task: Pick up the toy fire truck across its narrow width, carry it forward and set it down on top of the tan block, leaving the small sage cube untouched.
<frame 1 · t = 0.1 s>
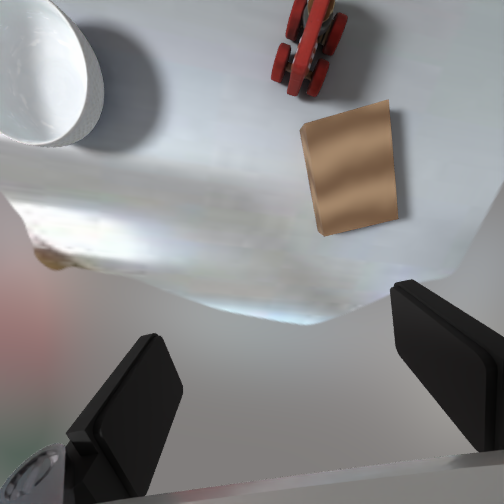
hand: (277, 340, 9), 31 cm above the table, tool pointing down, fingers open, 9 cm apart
tan block: (343, 174, 37), on the table
cereal bowl: (66, 91, 35), on the table
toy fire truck: (304, 56, 33), on the table
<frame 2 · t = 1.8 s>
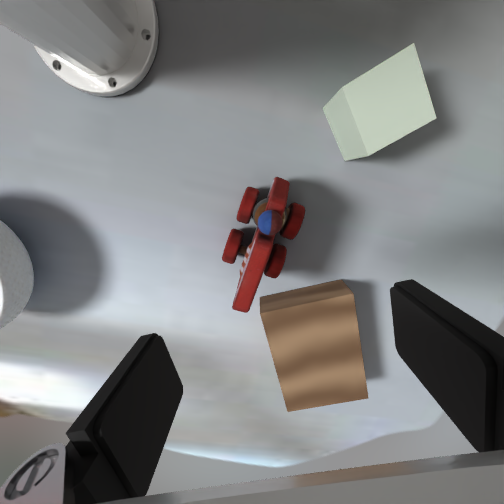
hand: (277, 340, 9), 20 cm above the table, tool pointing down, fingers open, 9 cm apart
tan block: (310, 337, 33), on the table
sage cube: (359, 120, 25), on the table
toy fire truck: (262, 228, 29), on the table
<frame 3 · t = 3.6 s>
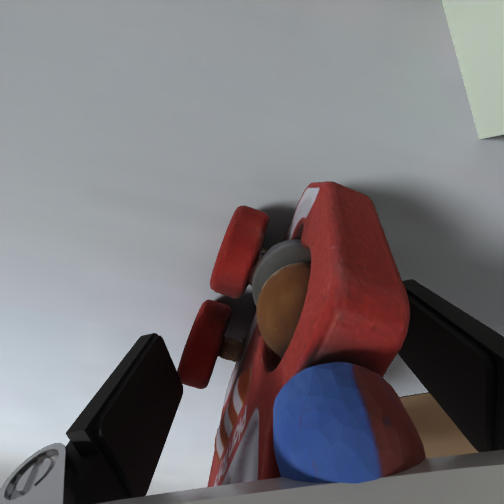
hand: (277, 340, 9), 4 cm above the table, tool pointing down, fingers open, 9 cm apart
tan block: (362, 486, 17), on the table
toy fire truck: (272, 292, 13), on the table
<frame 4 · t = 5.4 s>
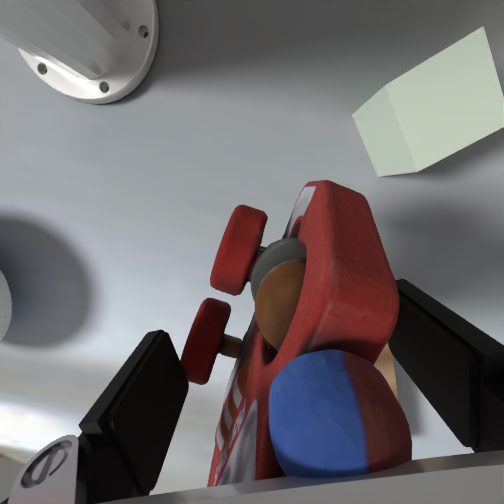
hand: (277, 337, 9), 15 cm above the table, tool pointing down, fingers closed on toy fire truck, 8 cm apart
tan block: (332, 384, 28), on the table
sage cube: (397, 128, 21), on the table
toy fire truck: (271, 290, 14), point 11 cm above the table, touching gripper
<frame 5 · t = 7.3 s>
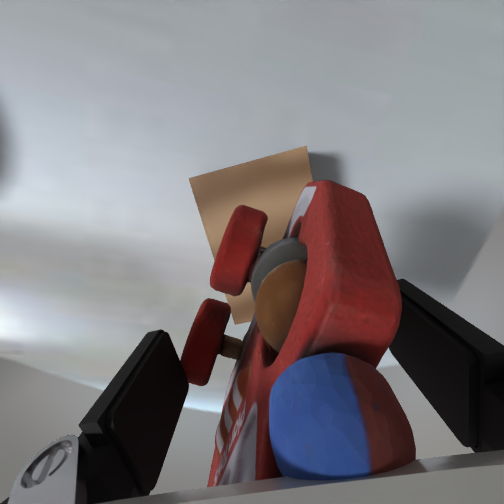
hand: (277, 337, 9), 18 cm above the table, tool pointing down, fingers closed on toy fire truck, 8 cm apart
tan block: (265, 236, 27), on the table
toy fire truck: (271, 291, 13), point 14 cm above the table, touching gripper
when the fingers open (8 cm above the table, at t = 10.0 s): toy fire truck stays where it is, resting on tan block.
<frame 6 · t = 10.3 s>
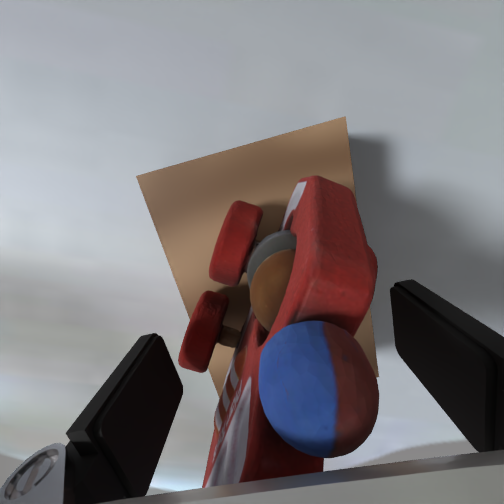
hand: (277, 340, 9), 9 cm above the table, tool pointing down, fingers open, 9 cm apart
tan block: (268, 265, 18), on the table
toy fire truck: (268, 284, 14), point 4 cm above the table, touching tan block
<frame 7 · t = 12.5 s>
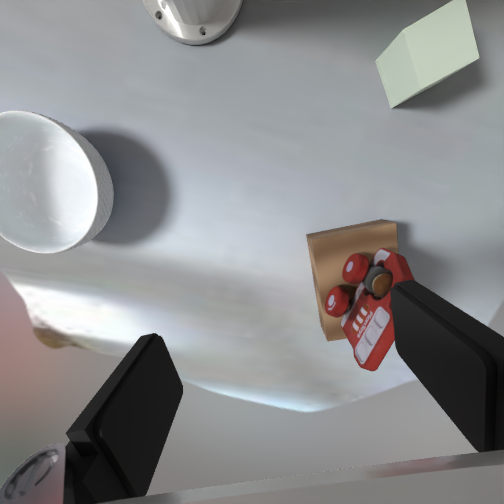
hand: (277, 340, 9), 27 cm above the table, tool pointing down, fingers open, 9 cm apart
tan block: (349, 276, 37), on the table
cereal bowl: (76, 187, 35), on the table
sage cube: (406, 72, 29), on the table
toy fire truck: (357, 284, 33), point 4 cm above the table, touching tan block
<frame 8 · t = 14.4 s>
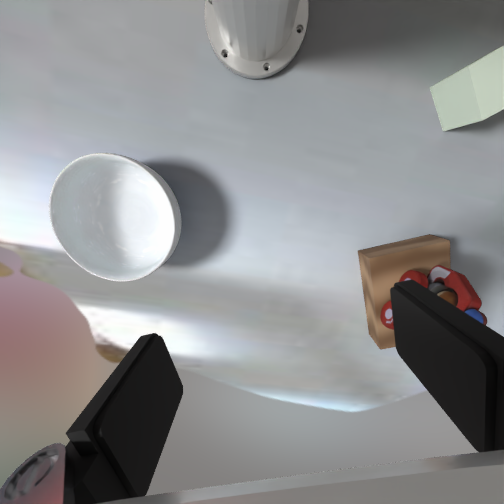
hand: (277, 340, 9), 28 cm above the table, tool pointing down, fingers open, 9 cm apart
tan block: (397, 287, 39), on the table
cereal bowl: (139, 215, 37), on the table
sage cube: (458, 97, 31), on the table
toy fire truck: (410, 297, 35), point 4 cm above the table, touching tan block
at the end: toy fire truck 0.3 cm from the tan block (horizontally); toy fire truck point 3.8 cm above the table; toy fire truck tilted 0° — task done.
